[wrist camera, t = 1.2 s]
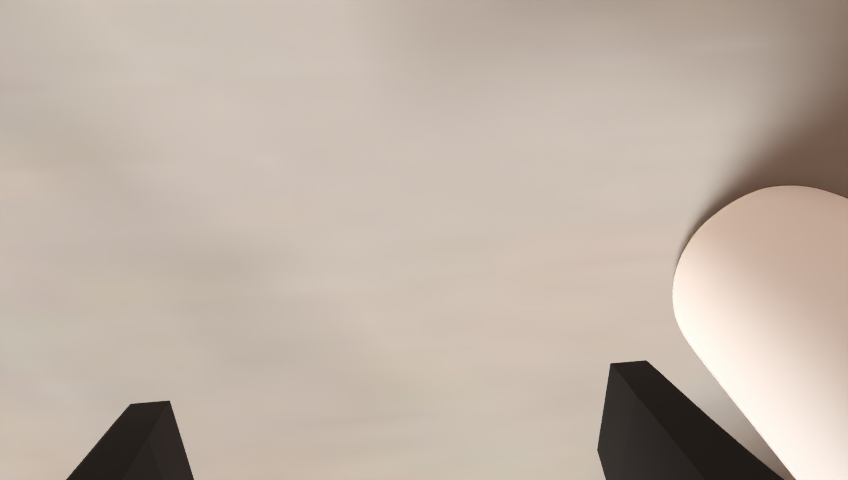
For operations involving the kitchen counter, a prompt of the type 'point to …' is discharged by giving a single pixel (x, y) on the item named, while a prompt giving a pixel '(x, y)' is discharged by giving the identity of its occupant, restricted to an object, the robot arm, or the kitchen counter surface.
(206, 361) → the kitchen counter surface
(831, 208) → the can
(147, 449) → the robot arm
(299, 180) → the kitchen counter surface
